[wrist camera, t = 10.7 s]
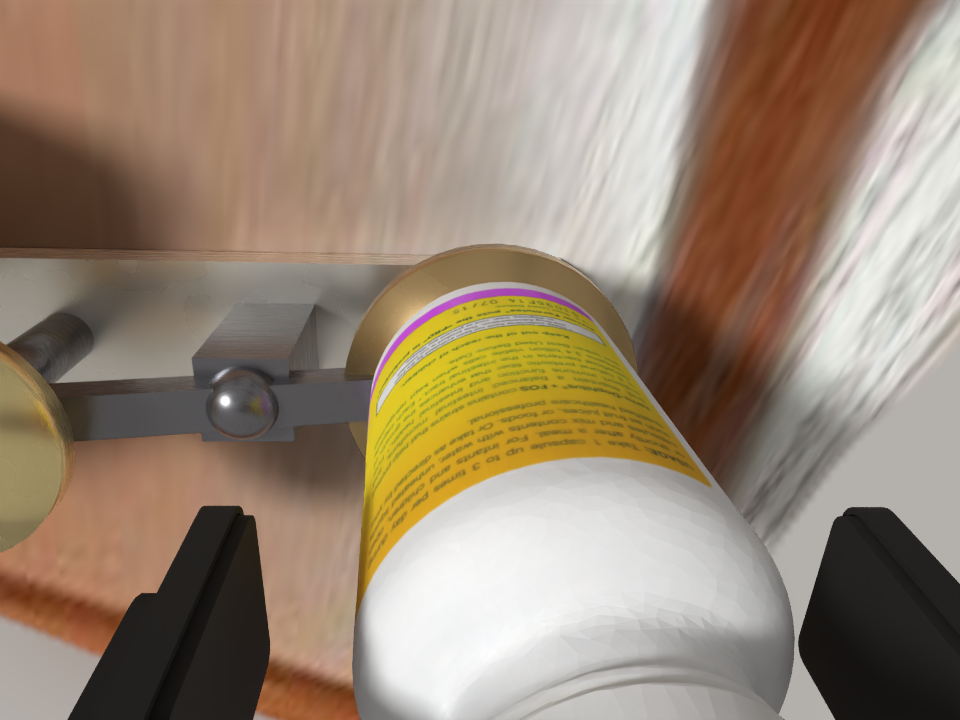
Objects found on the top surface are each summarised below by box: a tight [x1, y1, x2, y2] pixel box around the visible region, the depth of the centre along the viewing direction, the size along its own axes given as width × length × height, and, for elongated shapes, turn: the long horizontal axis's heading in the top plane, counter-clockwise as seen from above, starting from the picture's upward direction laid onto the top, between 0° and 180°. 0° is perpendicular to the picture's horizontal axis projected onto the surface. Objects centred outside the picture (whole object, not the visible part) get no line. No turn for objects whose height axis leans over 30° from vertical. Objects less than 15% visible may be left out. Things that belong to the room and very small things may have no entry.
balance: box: [0, 244, 638, 552], centre depth 20 cm, size 20×8×8 cm, turn 88°
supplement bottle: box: [352, 282, 794, 720], centre depth 13 cm, size 7×7×13 cm
